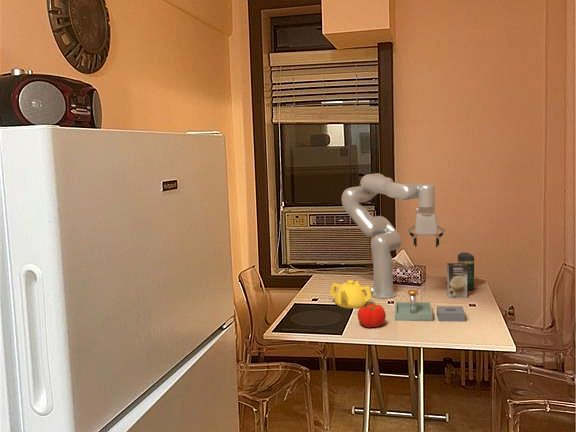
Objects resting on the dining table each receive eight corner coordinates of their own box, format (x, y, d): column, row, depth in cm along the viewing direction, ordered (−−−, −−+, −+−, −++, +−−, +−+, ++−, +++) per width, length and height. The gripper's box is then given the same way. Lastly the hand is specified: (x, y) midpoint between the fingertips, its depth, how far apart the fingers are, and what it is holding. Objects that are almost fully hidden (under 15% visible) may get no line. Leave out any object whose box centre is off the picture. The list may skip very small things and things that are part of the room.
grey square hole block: (438, 321, 261) (438, 313, 261) (437, 313, 272) (436, 306, 271) (465, 321, 259) (464, 313, 259) (462, 314, 270) (462, 306, 269)
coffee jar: (475, 290, 310) (475, 254, 308) (460, 290, 311) (460, 255, 308) (471, 285, 319) (471, 251, 317) (456, 286, 320) (456, 251, 318)
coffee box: (448, 297, 298) (448, 265, 296) (446, 294, 304) (446, 263, 302) (467, 297, 297) (467, 265, 295) (465, 294, 303) (465, 262, 301)
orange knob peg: (408, 314, 270) (407, 292, 269) (407, 311, 275) (407, 289, 274) (418, 314, 270) (417, 292, 268) (417, 311, 274) (417, 289, 273)
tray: (394, 320, 264) (394, 313, 264) (395, 308, 283) (395, 302, 283) (432, 321, 262) (432, 314, 261) (430, 308, 280) (430, 302, 280)
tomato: (366, 319, 268) (366, 300, 267) (391, 324, 260) (391, 304, 259) (350, 326, 258) (350, 307, 257) (375, 331, 250) (375, 311, 249)
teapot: (328, 302, 298) (327, 278, 296) (359, 298, 303) (359, 275, 301) (342, 311, 282) (341, 286, 280) (374, 307, 287) (374, 282, 285)
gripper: (407, 211, 282) (407, 247, 284) (445, 211, 278) (445, 248, 280) (407, 209, 289) (407, 244, 291) (445, 209, 285) (445, 245, 287)
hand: (426, 246), depth 286 cm, fingers open, 9 cm apart
